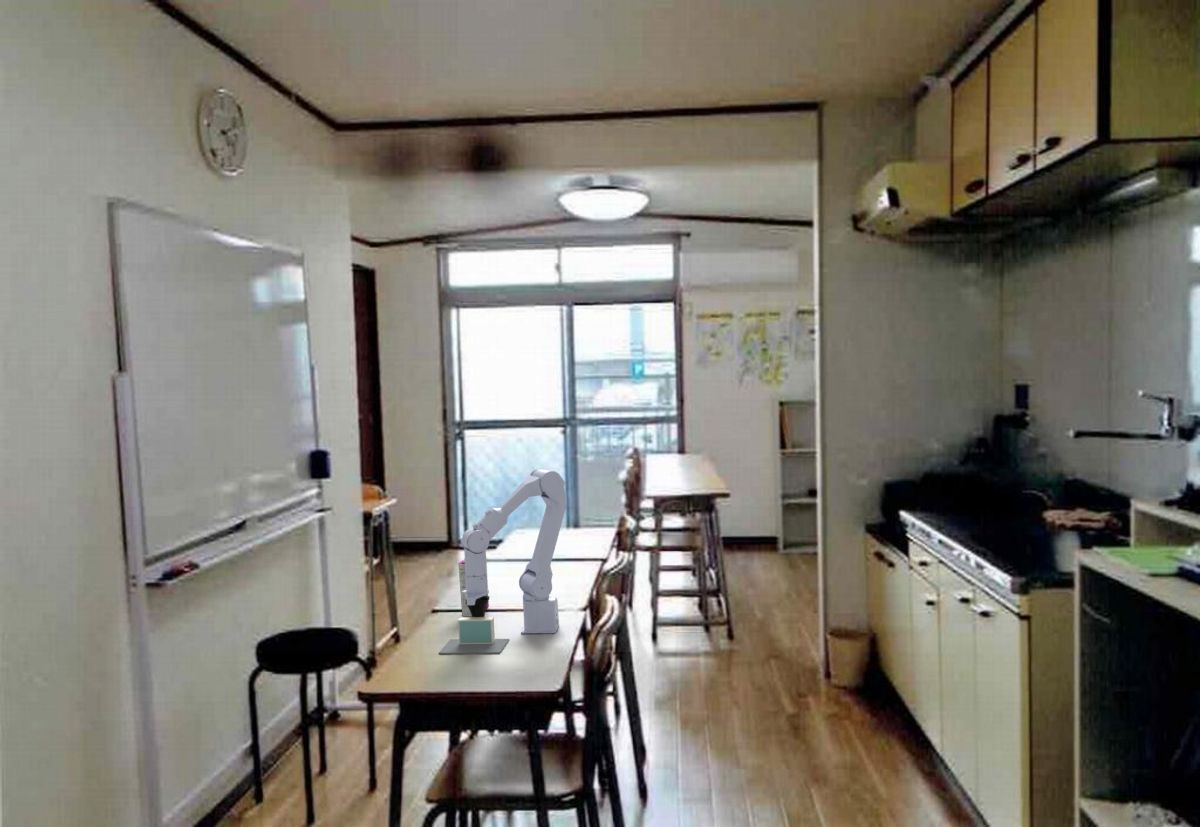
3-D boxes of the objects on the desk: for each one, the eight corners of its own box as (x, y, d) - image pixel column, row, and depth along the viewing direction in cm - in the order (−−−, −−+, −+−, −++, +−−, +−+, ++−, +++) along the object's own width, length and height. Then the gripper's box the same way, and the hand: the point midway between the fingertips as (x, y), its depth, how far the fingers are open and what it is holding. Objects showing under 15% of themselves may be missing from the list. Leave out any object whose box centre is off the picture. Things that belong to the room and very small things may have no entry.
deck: (494, 640, 232) (493, 617, 232) (492, 643, 230) (491, 619, 230) (461, 641, 233) (460, 617, 233) (459, 644, 231) (457, 620, 231)
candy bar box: (473, 607, 268) (470, 553, 267) (489, 607, 267) (486, 553, 266) (460, 617, 257) (457, 562, 256) (476, 617, 256) (474, 562, 255)
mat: (509, 640, 234) (509, 638, 234) (500, 653, 223) (500, 652, 223) (450, 640, 236) (450, 639, 236) (438, 654, 225) (438, 652, 225)
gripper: (468, 568, 241) (471, 617, 242) (454, 581, 227) (456, 633, 228) (493, 567, 241) (496, 616, 241) (480, 580, 226) (483, 633, 227)
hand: (478, 624), depth 234 cm, fingers closed
